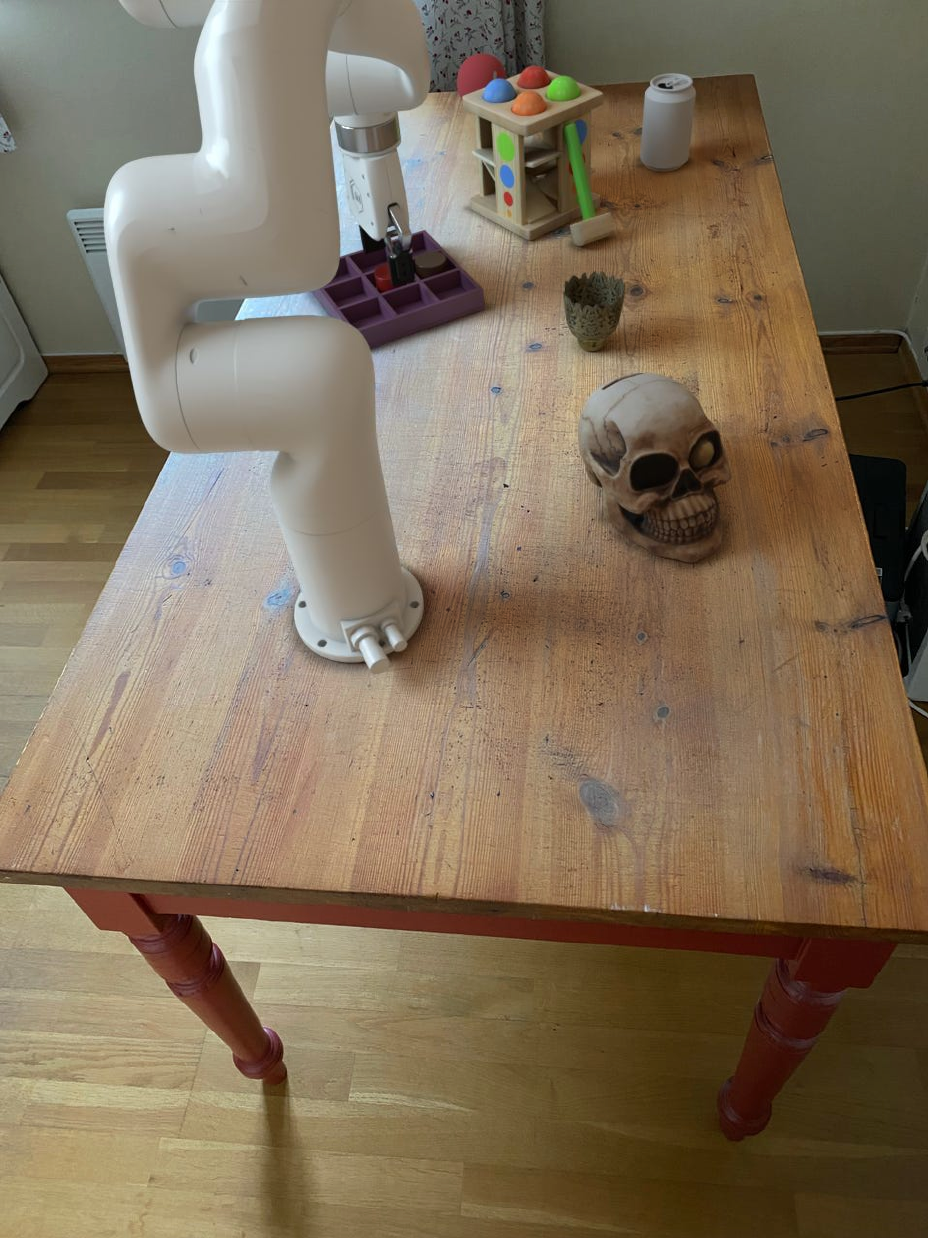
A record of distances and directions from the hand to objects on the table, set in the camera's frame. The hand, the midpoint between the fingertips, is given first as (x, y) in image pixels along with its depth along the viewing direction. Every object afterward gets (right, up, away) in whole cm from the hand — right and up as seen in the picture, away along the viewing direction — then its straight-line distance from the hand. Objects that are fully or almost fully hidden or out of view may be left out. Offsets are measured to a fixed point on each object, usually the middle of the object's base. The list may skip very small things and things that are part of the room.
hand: (388, 266), depth 118 cm
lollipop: (+14, +29, +29) cm, 43 cm away
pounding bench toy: (+23, +13, +14) cm, 30 cm away
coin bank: (+30, -35, -25) cm, 52 cm away
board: (0, -3, +4) cm, 5 cm away
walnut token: (+6, 0, +4) cm, 7 cm away
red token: (0, -2, +3) cm, 4 cm away
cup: (+26, -13, -7) cm, 30 cm away
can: (+42, +25, +22) cm, 54 cm away
